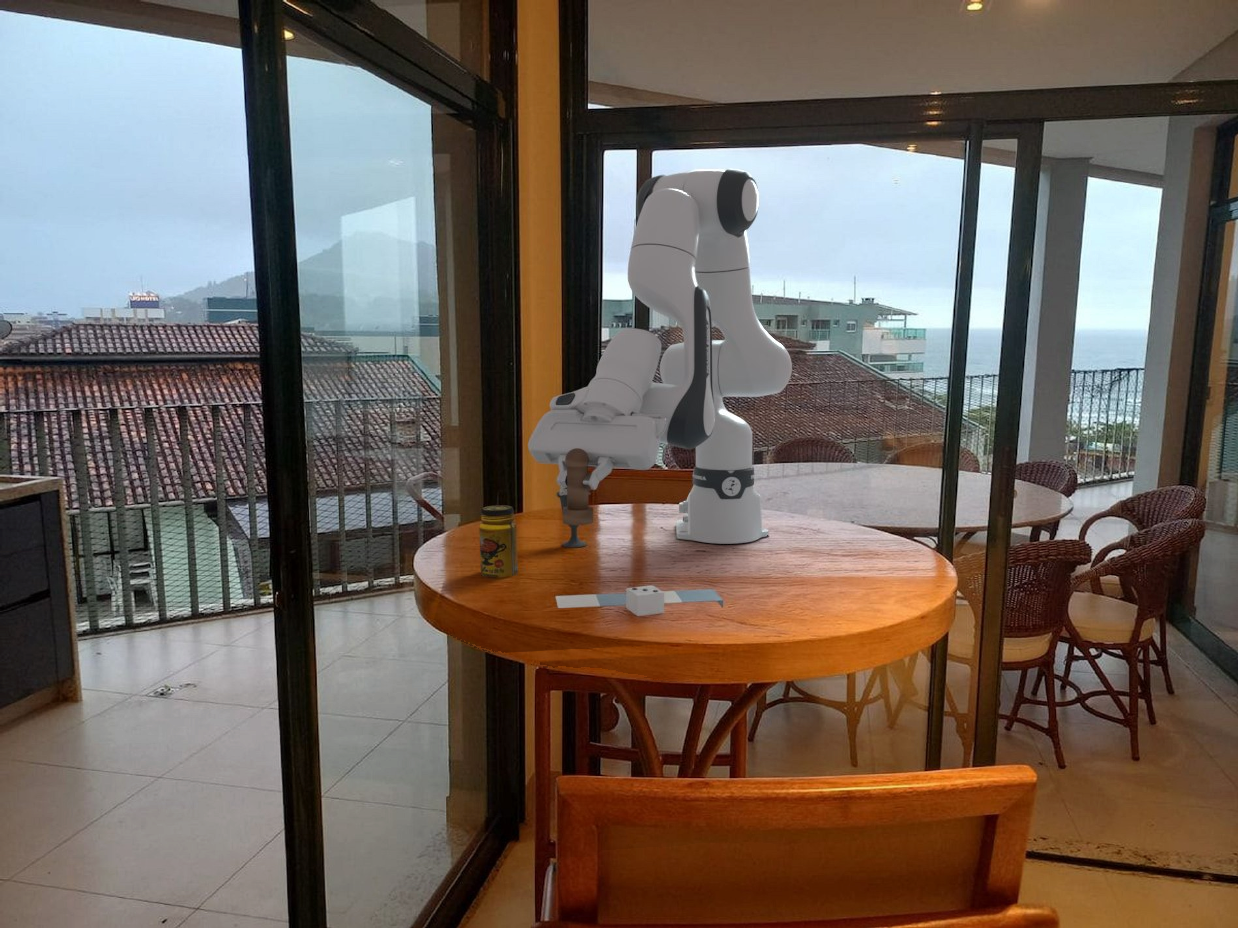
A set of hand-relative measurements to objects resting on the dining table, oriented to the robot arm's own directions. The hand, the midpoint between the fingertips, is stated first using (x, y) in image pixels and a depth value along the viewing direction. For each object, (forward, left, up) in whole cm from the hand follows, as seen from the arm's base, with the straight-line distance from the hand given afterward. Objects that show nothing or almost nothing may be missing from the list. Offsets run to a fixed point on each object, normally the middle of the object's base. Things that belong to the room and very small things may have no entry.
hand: (575, 485), depth 123 cm
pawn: (-1, 0, -5) cm, 5 cm away
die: (+6, +9, -18) cm, 21 cm away
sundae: (-41, +3, -18) cm, 45 cm away
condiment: (-19, -11, -18) cm, 29 cm away
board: (0, +9, -18) cm, 20 cm away
